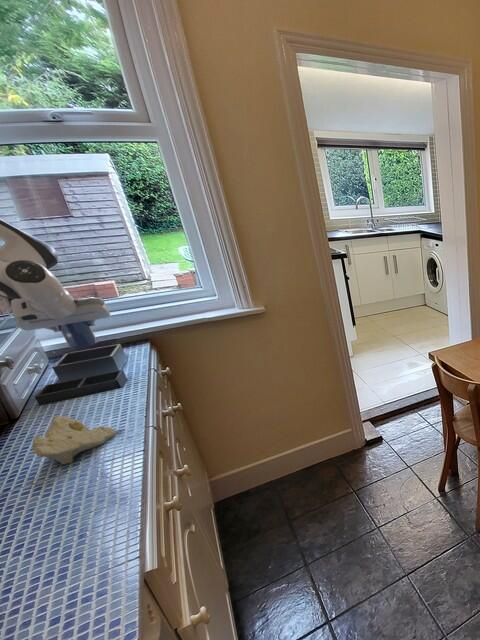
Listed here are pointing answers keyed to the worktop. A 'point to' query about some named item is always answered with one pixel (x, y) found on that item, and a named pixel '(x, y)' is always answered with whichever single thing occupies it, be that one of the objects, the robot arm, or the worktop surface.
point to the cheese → (69, 439)
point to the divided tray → (81, 387)
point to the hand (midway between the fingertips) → (75, 327)
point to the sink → (90, 362)
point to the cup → (78, 334)
